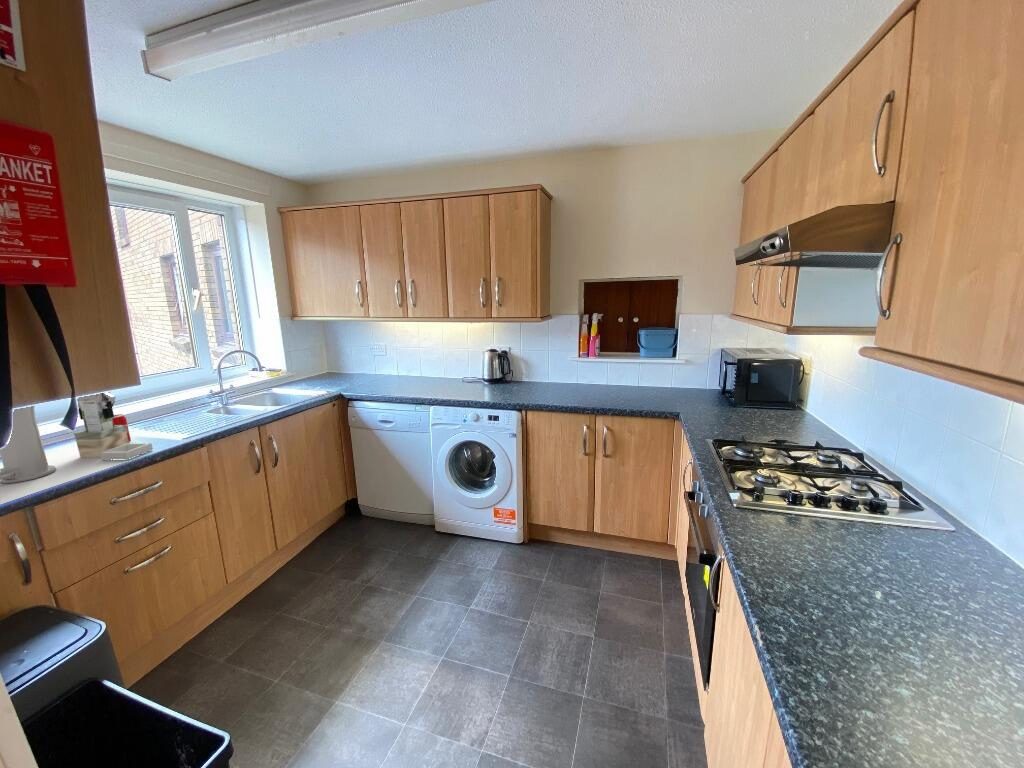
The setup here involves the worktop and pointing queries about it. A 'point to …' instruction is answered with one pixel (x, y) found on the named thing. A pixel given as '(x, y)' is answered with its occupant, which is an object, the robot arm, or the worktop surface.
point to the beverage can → (121, 423)
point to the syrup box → (94, 416)
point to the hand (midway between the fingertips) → (97, 418)
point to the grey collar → (126, 451)
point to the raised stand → (100, 441)
